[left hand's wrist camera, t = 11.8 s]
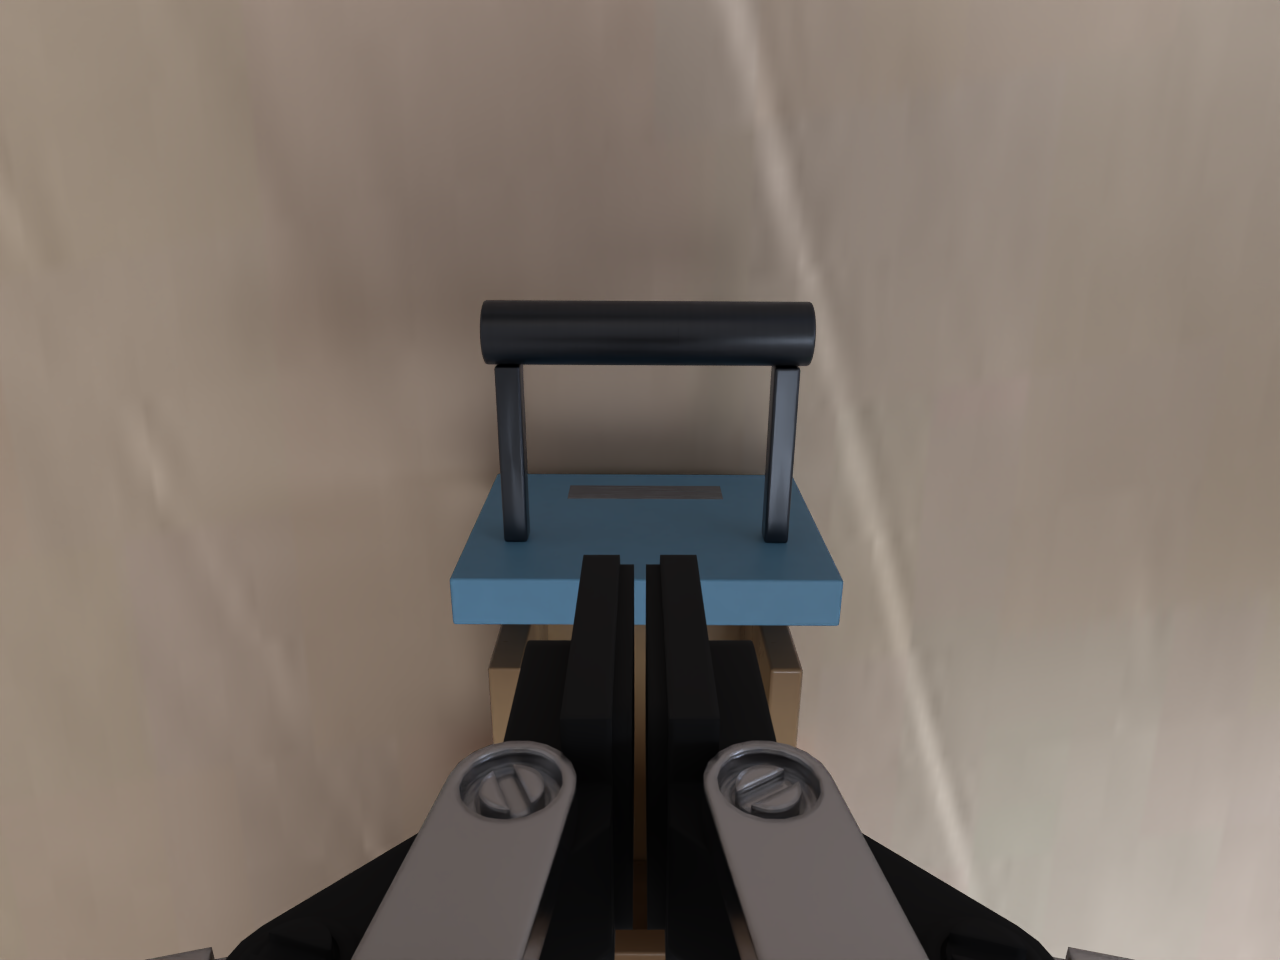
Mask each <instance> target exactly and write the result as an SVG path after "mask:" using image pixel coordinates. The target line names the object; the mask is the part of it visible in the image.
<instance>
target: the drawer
mask: <svg viewBox="0 0 1280 960" xmlns="http://www.w3.org/2000/svg"><path fill="white" fill-rule="evenodd" d="M815 338H816V319H815V311H814V307H813V305H812V303H810V302H730V301H532V300H486V301H484V302H483V305H482V309H481V316H480V341H481V350H482V355H483V359H484V361H485V363H486V364H497V365H496V366H495V369H494V370H495V388H496V405H497V423H498V441H499V459H500V474H498V475H497V477H496V479H495V481H494V484H493V486H492V488H491V490H490V492H489V495H488V497H487V499H486V501H485V503H484V506H483V508H482V510H481V512H480V514H479V517H478V519H477V521H476V523H475V525H474V528H473V530H472V532H471V534H470V536H469V539H468V541H467V543H466V545H465V547H464V550H463V552H462V554H461V556H460V558H459V561H458V563H457V565H456V567H455V569H454V572H453V574H452V576H451V578H450V589H451V601H452V613H453V622H454V624H502V625H501V628H500V631H499V635H498V638H497V641H496V645H495V648H494V651H493V655H492V658H491V661H490V665H489V668H488V674H489V689H490V704H491V719H492V733H493V744H497V743H502V742H503V741H504V737H505V732H506V728H507V724H508V720H509V715H510V711H511V707H512V703H513V698H514V694H515V690H516V686H517V681H518V677H519V673H520V669H521V664H522V660H523V656H524V652H525V647H526V644H527V641H529V640H571V638H572V631H573V624H574V617H575V610H576V603H577V596H578V589H579V582H580V575H581V568H582V561H583V555H620V564H634V678H635V746H634V853H633V929H647V853H646V746H645V678H646V564H660V555H697V561H698V568H699V575H700V582H701V589H702V596H703V603H704V610H705V617H706V624H707V631H708V638H709V640H751V641H753V644H754V647H755V652H756V656H757V660H758V664H759V669H760V673H761V677H762V681H763V686H764V690H765V694H766V698H767V703H768V707H769V711H770V715H771V720H772V724H773V728H774V732H775V737H776V741H777V742H778V743H783V744H788V745H791V746H793V747H796V745H797V733H798V721H799V709H800V697H801V686H802V674H803V670H802V667H801V664H800V661H799V658H798V654H797V651H796V648H795V645H794V642H793V639H792V636H791V633H790V629H789V626H788V625H796V626H837V625H839V619H840V609H841V599H842V589H843V580H842V578H841V576H840V574H839V572H838V570H837V568H836V565H835V563H834V561H833V559H832V557H831V555H830V553H829V551H828V549H827V547H826V545H825V543H824V541H823V539H822V537H821V534H820V532H819V530H818V528H817V526H816V524H815V522H814V520H813V518H812V516H811V514H810V512H809V510H808V508H807V506H806V504H805V501H804V499H803V497H802V495H801V493H800V491H799V489H798V487H797V485H796V483H795V481H794V479H793V464H794V450H795V436H796V423H797V409H798V395H799V381H800V368H799V367H798V366H808V365H809V364H810V363H811V360H812V358H813V354H814V348H815ZM523 365H716V366H772V368H771V385H770V401H769V418H768V434H767V451H766V468H765V475H629V474H528V471H527V448H526V425H525V403H524V380H523Z"/></svg>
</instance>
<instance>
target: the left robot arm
mask: <svg viewBox="0 0 1280 960" xmlns="http://www.w3.org/2000/svg"><path fill="white" fill-rule="evenodd" d="M634 746H635V678H634V564H620V555H583V561H582V568H581V575H580V582H579V589H578V596H577V603H576V610H575V617H574V624H573V631H572V638H571V640H529V641H527V644H526V647H525V652H524V656H523V660H522V664H521V669H520V673H519V677H518V681H517V686H516V690H515V694H514V698H513V703H512V707H511V711H510V715H509V720H508V724H507V728H506V732H505V737H504V741H503V742H502V743H497V744H492V745H489V746H487V747H484V748H482V749H480V750H477V751H475V752H473V753H471V754H470V755H469V756H467V757H466V758H465V759H463V760H462V761H460V762H459V763H458V764H457V766H456V767H455V768H454V770H453V771H452V772H451V773H450V775H449V776H448V778H447V780H446V782H445V784H444V786H443V787H442V789H441V791H440V793H439V795H438V797H437V799H436V801H435V803H434V804H433V806H432V808H431V810H430V812H429V814H428V816H427V818H426V819H425V821H424V823H423V825H422V827H421V829H420V831H419V833H417V834H416V835H414V836H412V837H411V838H409V839H407V840H406V841H404V842H402V843H401V844H399V845H397V846H396V847H394V848H392V849H391V850H389V851H387V852H386V853H384V854H382V855H381V856H379V857H377V858H376V859H374V860H372V861H370V862H369V863H367V864H365V865H364V866H362V867H360V868H359V869H357V870H355V871H354V872H352V873H350V874H349V875H347V876H345V877H344V878H342V879H340V880H339V881H337V882H335V883H334V884H332V885H330V886H329V887H327V888H325V889H324V890H322V891H320V892H319V893H317V894H315V895H313V896H312V897H310V898H308V899H307V900H305V901H303V902H302V903H300V904H298V905H297V906H295V907H293V908H292V909H290V910H288V911H287V912H285V913H283V914H282V915H280V916H278V917H277V918H275V919H273V920H272V921H270V922H268V923H267V924H265V925H263V926H262V927H260V928H259V929H258V930H256V931H255V932H254V933H252V934H251V935H250V936H248V937H247V938H246V939H244V940H243V941H241V943H240V944H239V945H238V946H237V947H236V948H235V949H234V950H233V952H232V953H231V954H230V955H229V956H228V957H225V958H219V959H214V955H213V951H212V947H209V948H204V949H199V950H194V951H188V952H183V953H178V954H173V955H168V956H162V957H157V958H152V959H147V960H615V931H616V930H633V853H634ZM645 746H646V853H647V930H664V931H665V960H1133V959H1128V958H1123V957H1118V956H1112V955H1107V954H1102V953H1097V952H1092V951H1086V950H1081V949H1076V948H1071V947H1068V951H1067V955H1066V959H1061V958H1055V957H1052V956H1051V955H1050V954H1049V953H1048V952H1047V950H1046V949H1045V948H1044V947H1043V946H1042V945H1041V944H1040V943H1039V941H1037V940H1036V939H1034V938H1033V937H1032V936H1030V935H1029V934H1028V933H1026V932H1025V931H1024V930H1022V929H1021V928H1020V927H1018V926H1017V925H1015V924H1013V923H1012V922H1010V921H1008V920H1007V919H1005V918H1003V917H1002V916H1000V915H998V914H997V913H995V912H993V911H992V910H990V909H988V908H987V907H985V906H983V905H982V904H980V903H978V902H977V901H975V900H973V899H972V898H970V897H968V896H967V895H965V894H963V893H961V892H960V891H958V890H956V889H955V888H953V887H951V886H950V885H948V884H946V883H945V882H943V881H941V880H940V879H938V878H936V877H935V876H933V875H931V874H930V873H928V872H926V871H925V870H923V869H921V868H920V867H918V866H916V865H915V864H913V863H911V862H910V861H908V860H906V859H904V858H903V857H901V856H899V855H898V854H896V853H894V852H893V851H891V850H889V849H888V848H886V847H884V846H883V845H881V844H879V843H878V842H876V841H874V840H873V839H871V838H869V837H868V836H866V835H864V834H863V833H861V831H860V829H859V827H858V825H857V823H856V821H855V819H854V818H853V816H852V814H851V812H850V810H849V808H848V806H847V804H846V803H845V801H844V799H843V797H842V795H841V793H840V791H839V789H838V787H837V786H836V784H835V782H834V780H833V778H832V776H831V775H830V773H829V772H828V771H827V770H826V768H825V767H824V766H823V764H822V763H821V762H820V761H818V760H817V759H815V758H814V757H813V756H811V755H810V754H809V753H807V752H805V751H803V750H800V749H798V748H796V747H793V746H791V745H788V744H783V743H778V742H777V741H776V737H775V732H774V728H773V724H772V720H771V715H770V711H769V707H768V703H767V698H766V694H765V690H764V686H763V681H762V677H761V673H760V669H759V664H758V660H757V656H756V652H755V647H754V644H753V641H751V640H709V638H708V631H707V624H706V617H705V610H704V603H703V596H702V589H701V582H700V575H699V568H698V561H697V555H660V564H646V678H645Z"/></svg>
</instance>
